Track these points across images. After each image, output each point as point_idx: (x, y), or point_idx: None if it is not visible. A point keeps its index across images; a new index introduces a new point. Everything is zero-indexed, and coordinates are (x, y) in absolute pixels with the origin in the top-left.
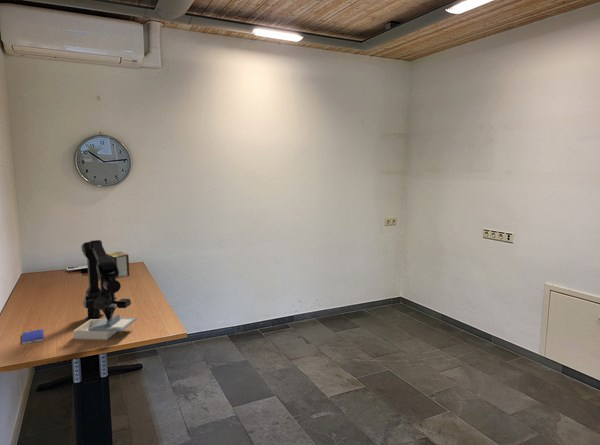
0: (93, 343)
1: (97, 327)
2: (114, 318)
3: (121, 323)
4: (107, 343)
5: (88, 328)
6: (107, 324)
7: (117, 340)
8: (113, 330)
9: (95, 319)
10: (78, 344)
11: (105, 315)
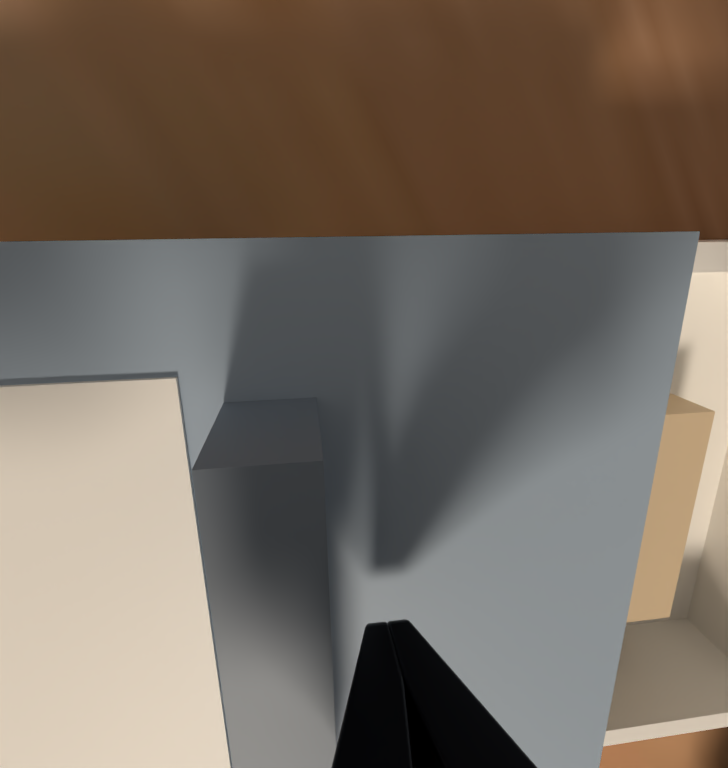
0: (414, 78)
1: (526, 343)
2: (226, 719)
3: (73, 622)
4: (158, 86)
5: (704, 558)
6: (293, 423)
7: (58, 238)
8: (28, 243)
9: (717, 725)
10: (644, 23)
11: (516, 760)
